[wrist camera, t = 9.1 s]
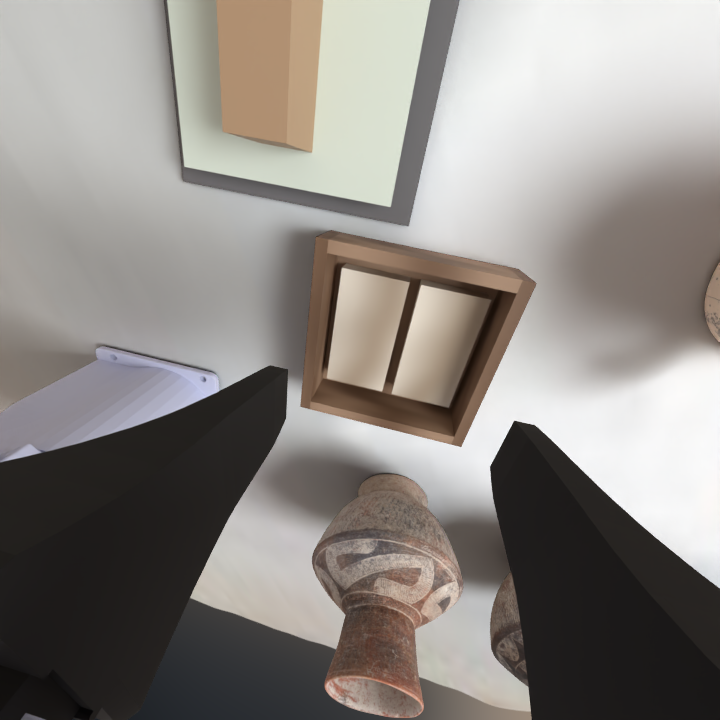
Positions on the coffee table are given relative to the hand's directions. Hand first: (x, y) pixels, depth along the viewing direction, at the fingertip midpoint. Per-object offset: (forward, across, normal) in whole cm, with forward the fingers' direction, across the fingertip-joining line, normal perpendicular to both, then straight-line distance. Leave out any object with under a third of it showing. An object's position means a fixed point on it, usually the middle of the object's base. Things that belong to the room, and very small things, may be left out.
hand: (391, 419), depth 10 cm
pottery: (+10, -10, +17) cm, 22 cm away
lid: (+8, +7, -11) cm, 15 cm away
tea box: (+10, 0, +1) cm, 10 cm away
